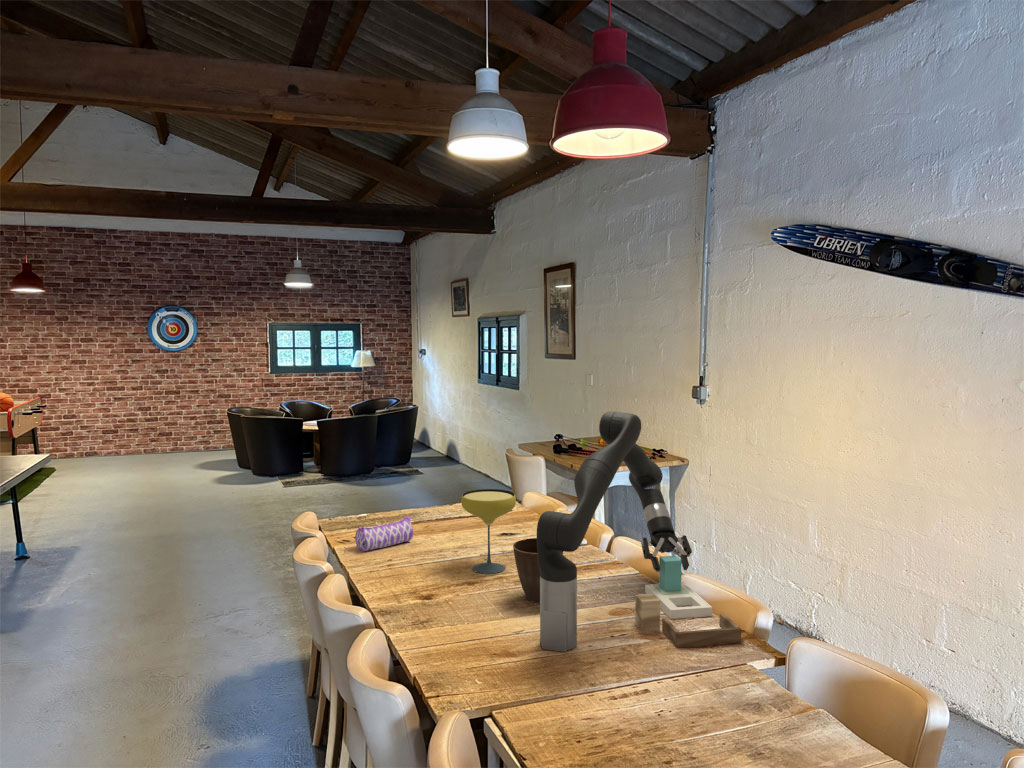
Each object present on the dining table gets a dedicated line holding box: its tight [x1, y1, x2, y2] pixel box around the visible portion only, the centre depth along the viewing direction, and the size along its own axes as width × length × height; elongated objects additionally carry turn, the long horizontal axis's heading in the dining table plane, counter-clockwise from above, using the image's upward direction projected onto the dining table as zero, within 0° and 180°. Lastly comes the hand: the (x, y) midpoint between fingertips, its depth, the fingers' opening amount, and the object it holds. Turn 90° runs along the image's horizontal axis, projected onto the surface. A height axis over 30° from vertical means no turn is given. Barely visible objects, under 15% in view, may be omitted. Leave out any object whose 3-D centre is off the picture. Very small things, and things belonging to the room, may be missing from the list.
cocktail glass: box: [460, 488, 517, 575], centre depth 232 cm, size 18×18×25 cm
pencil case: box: [354, 516, 414, 553], centre depth 259 cm, size 22×9×10 cm, turn 131°
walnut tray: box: [661, 613, 742, 648], centre depth 179 cm, size 10×17×4 cm, turn 99°
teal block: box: [658, 555, 682, 592], centre depth 206 cm, size 4×5×9 cm
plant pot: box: [512, 537, 564, 604], centre depth 206 cm, size 15×15×16 cm
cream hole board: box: [644, 581, 713, 620], centre depth 201 cm, size 20×12×3 cm, turn 9°
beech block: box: [634, 593, 661, 632], centre depth 185 cm, size 5×5×8 cm
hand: (672, 569), depth 205 cm, fingers open, 8 cm apart
